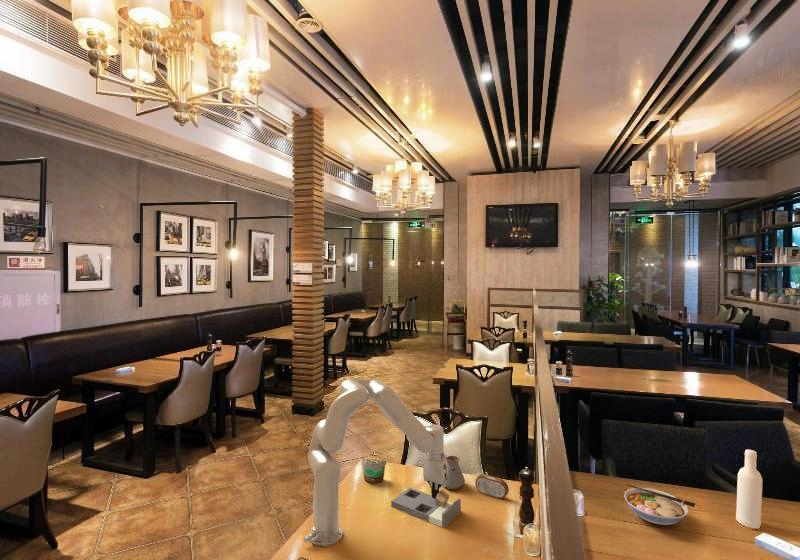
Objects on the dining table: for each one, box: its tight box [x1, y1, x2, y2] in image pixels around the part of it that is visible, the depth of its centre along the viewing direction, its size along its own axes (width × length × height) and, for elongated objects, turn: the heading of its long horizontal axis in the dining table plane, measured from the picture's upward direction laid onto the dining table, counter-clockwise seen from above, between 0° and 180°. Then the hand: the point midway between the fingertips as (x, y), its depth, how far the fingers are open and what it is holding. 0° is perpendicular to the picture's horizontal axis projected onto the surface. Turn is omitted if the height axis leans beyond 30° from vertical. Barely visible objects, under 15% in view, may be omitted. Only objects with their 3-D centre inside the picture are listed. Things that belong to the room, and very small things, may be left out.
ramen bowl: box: [623, 484, 696, 526], centre depth 181 cm, size 25×23×8 cm
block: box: [435, 489, 450, 507], centre depth 187 cm, size 4×4×4 cm
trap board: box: [390, 487, 462, 529], centre depth 187 cm, size 14×26×6 cm, turn 55°
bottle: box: [735, 449, 763, 529], centre depth 177 cm, size 8×8×30 cm
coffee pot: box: [445, 455, 466, 490], centre depth 202 cm, size 21×12×15 cm, turn 174°
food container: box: [361, 457, 387, 485], centre depth 210 cm, size 12×6×10 cm, turn 80°
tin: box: [475, 473, 510, 500], centre depth 199 cm, size 15×3×8 cm, turn 58°
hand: (435, 496), depth 189 cm, fingers closed
